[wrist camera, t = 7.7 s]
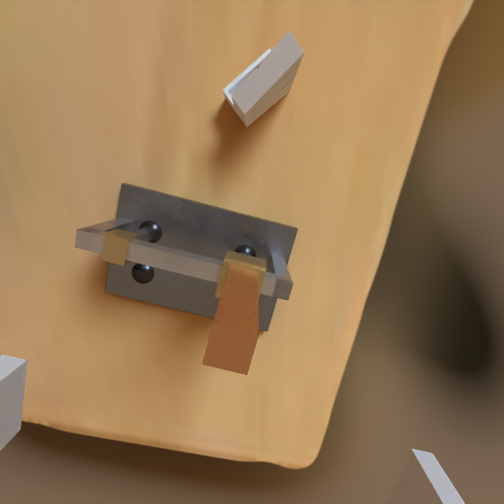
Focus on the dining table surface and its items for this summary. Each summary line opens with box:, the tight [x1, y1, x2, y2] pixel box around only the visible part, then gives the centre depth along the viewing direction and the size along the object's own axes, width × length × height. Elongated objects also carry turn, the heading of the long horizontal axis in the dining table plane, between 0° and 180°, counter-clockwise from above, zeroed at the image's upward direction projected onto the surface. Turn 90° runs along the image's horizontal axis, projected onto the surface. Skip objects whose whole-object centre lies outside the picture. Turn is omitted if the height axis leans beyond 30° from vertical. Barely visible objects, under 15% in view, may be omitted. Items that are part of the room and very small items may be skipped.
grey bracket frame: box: [75, 218, 293, 300], centre depth 30 cm, size 19×2×9 cm, turn 75°
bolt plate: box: [105, 183, 298, 331], centre depth 36 cm, size 20×13×1 cm, turn 75°
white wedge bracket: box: [223, 31, 304, 127], centre depth 29 cm, size 4×10×9 cm
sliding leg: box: [203, 250, 266, 375], centre depth 25 cm, size 4×4×20 cm
